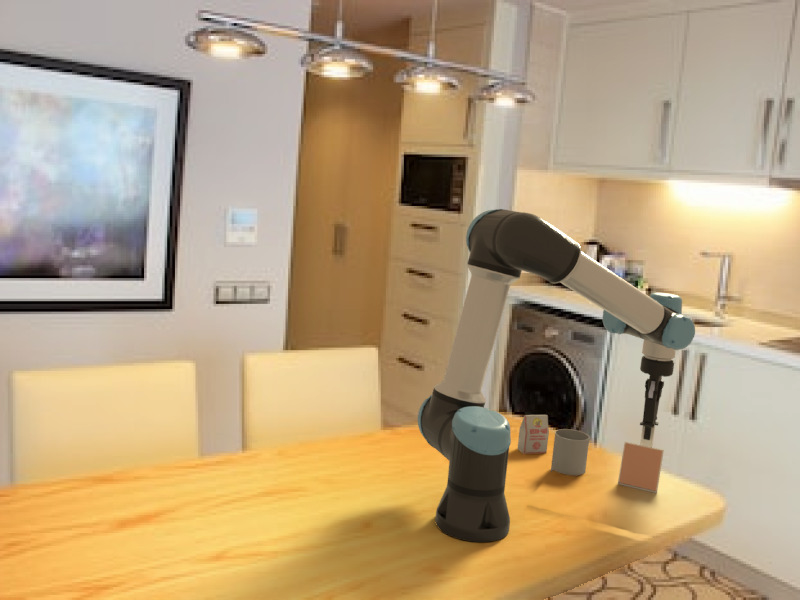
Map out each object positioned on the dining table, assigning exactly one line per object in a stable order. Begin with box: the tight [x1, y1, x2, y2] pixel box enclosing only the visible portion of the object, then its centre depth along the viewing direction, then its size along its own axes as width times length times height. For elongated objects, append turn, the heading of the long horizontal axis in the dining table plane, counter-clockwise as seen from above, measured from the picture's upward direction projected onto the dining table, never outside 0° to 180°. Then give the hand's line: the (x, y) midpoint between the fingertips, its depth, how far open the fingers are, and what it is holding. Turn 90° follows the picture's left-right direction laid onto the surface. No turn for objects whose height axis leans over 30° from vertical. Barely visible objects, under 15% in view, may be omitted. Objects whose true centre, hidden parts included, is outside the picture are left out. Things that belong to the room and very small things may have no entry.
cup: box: [550, 428, 590, 476], centre depth 187 cm, size 8×8×10 cm
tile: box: [617, 441, 665, 494], centre depth 179 cm, size 10×9×1 cm
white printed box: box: [517, 414, 550, 455], centre depth 200 cm, size 4×7×10 cm, turn 107°
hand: (645, 450), depth 184 cm, fingers closed
